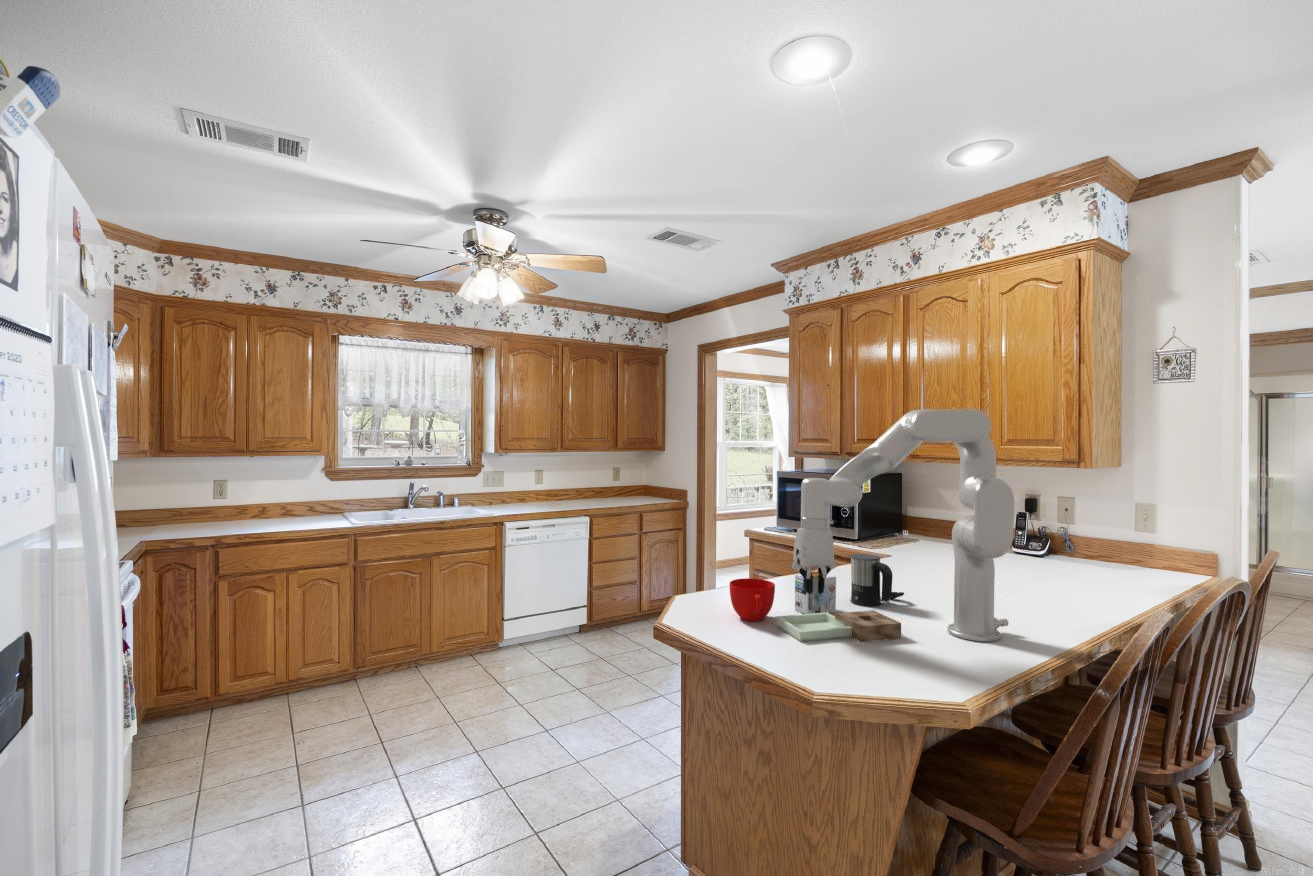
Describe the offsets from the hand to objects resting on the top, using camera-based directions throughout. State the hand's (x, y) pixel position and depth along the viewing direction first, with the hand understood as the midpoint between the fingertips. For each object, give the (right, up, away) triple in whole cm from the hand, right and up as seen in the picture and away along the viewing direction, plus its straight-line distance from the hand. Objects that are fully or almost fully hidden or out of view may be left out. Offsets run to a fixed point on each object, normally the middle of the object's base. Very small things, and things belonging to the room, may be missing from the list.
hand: (813, 591), depth 167 cm
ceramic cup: (-15, -11, +9) cm, 21 cm away
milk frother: (+28, -11, +29) cm, 42 cm away
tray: (0, -11, 0) cm, 11 cm away
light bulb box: (+5, -11, +19) cm, 23 cm away
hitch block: (+14, -11, -1) cm, 18 cm away
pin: (0, -5, 0) cm, 5 cm away
